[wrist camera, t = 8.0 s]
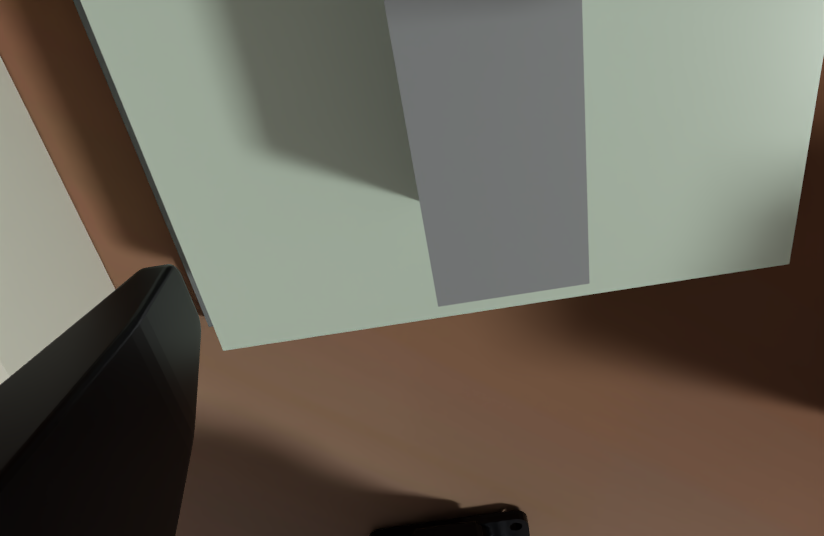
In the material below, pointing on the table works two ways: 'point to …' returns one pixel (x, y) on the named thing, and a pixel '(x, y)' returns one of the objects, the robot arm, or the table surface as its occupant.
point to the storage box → (38, 243)
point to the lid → (462, 148)
